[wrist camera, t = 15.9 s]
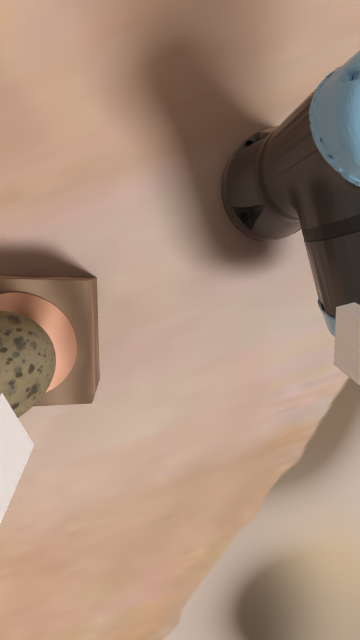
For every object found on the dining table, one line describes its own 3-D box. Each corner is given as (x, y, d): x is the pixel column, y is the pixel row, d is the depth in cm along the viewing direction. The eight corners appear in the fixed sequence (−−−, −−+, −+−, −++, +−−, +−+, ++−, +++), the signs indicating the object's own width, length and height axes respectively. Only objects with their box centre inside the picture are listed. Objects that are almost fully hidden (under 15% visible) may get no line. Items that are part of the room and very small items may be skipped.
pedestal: (96, 277, 40) (87, 280, 32) (99, 378, 43) (91, 404, 35) (-23, 275, 38) (-66, 277, 30) (-11, 382, 41) (-47, 412, 33)
